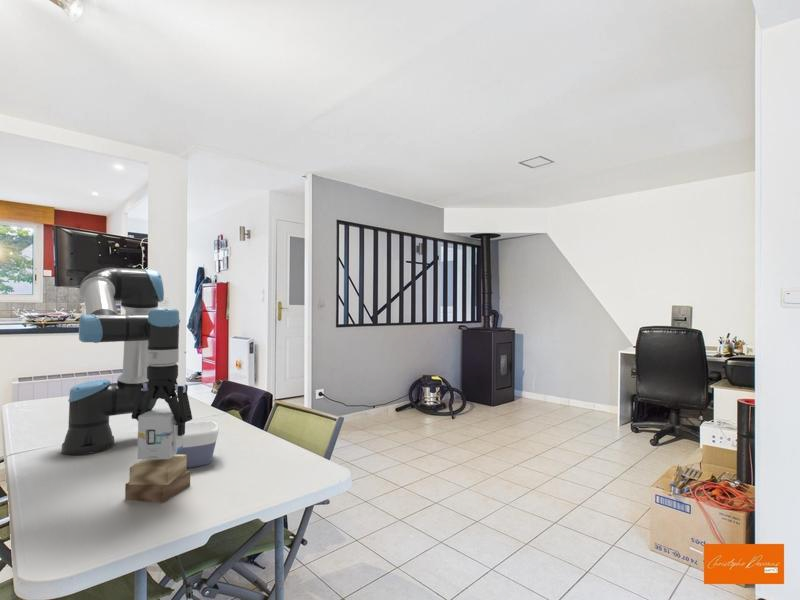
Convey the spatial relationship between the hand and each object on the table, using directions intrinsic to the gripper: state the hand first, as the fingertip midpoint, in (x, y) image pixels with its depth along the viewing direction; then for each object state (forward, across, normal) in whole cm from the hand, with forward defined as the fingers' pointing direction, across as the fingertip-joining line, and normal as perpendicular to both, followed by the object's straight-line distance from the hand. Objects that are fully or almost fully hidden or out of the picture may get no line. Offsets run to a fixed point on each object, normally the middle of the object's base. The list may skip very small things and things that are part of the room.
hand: (161, 446), depth 117 cm
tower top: (+8, 0, 0) cm, 9 cm away
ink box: (+2, 0, 0) cm, 2 cm away
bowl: (+13, -6, +22) cm, 26 cm away
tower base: (+13, 0, 0) cm, 13 cm away
